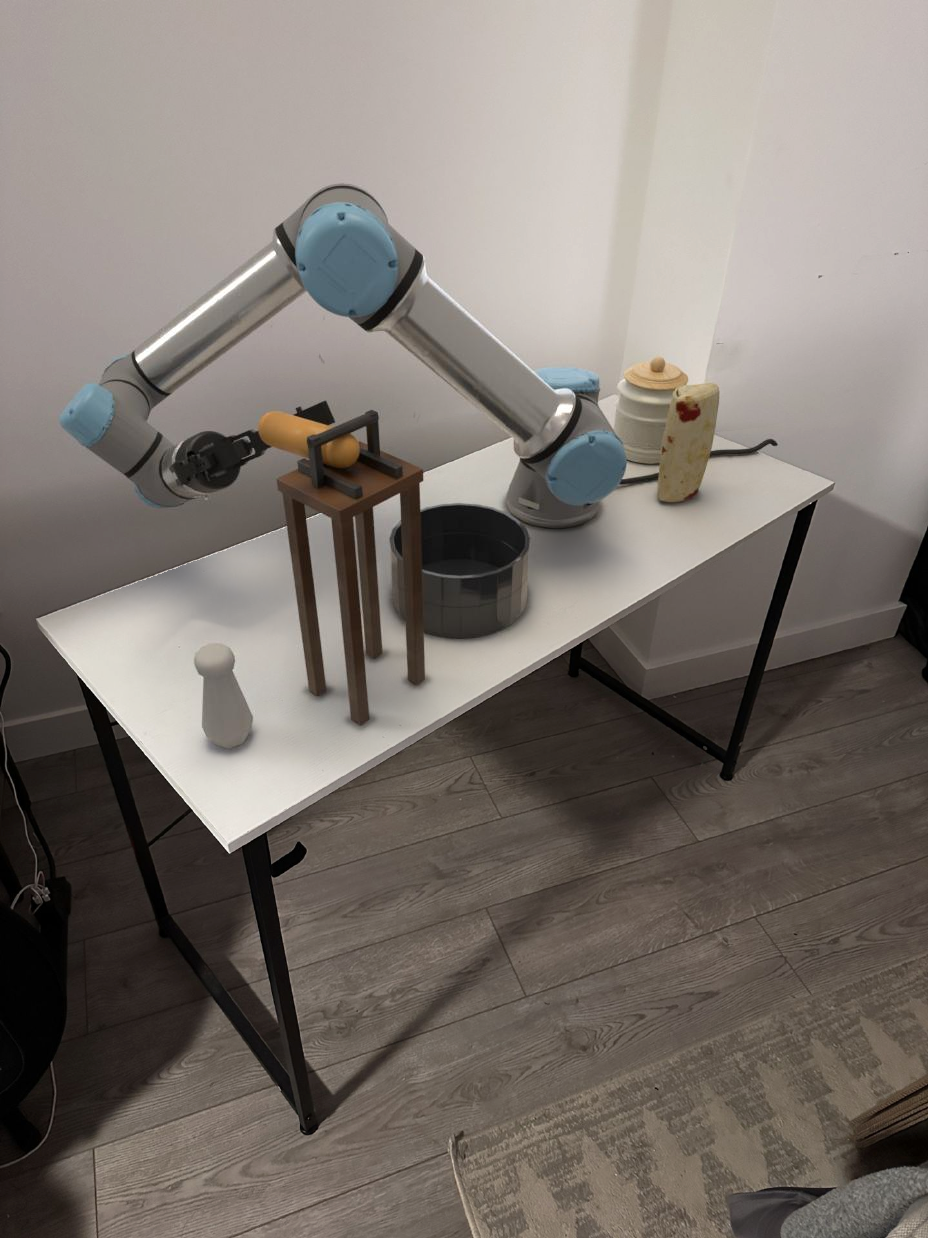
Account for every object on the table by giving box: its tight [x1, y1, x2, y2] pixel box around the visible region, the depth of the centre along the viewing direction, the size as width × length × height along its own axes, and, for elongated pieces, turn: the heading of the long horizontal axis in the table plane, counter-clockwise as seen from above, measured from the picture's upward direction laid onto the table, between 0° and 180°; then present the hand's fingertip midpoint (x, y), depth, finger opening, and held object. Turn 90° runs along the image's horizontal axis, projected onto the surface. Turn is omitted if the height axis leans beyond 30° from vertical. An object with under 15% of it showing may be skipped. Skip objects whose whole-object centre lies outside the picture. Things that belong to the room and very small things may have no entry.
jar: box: [613, 356, 689, 465], centre depth 160 cm, size 13×13×18 cm
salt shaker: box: [193, 642, 254, 750], centre depth 101 cm, size 6×6×13 cm
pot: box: [388, 502, 531, 640], centre depth 124 cm, size 19×19×10 cm
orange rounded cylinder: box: [257, 410, 360, 469], centre depth 96 cm, size 15×4×4 cm, turn 48°
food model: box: [657, 382, 720, 503], centre depth 145 cm, size 10×7×20 cm
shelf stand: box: [275, 409, 426, 726], centre depth 101 cm, size 10×12×36 cm
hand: (282, 431), depth 99 cm, fingers open, 13 cm apart
